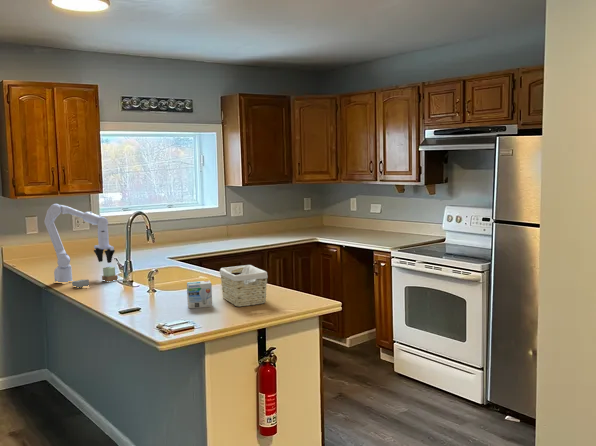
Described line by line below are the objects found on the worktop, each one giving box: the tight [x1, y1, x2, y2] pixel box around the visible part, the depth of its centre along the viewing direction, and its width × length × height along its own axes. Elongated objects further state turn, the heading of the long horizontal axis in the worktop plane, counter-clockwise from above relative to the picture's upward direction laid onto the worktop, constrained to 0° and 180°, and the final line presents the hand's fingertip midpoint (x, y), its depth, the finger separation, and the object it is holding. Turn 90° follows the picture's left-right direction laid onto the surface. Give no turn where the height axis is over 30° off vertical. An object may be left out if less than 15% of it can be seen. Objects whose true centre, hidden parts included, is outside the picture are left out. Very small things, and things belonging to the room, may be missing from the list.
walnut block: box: [101, 274, 119, 282], centre depth 325 cm, size 6×6×4 cm
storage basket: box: [219, 264, 269, 307], centre depth 269 cm, size 24×16×15 cm
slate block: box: [71, 279, 90, 287], centre depth 311 cm, size 6×6×4 cm
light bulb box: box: [186, 280, 213, 309], centre depth 262 cm, size 11×7×11 cm, turn 106°
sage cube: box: [102, 266, 116, 277], centre depth 325 cm, size 4×4×4 cm
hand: (104, 262), depth 330 cm, fingers open, 7 cm apart
